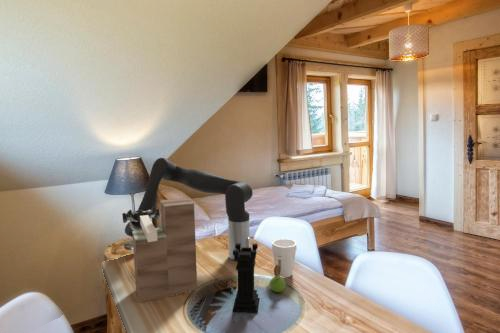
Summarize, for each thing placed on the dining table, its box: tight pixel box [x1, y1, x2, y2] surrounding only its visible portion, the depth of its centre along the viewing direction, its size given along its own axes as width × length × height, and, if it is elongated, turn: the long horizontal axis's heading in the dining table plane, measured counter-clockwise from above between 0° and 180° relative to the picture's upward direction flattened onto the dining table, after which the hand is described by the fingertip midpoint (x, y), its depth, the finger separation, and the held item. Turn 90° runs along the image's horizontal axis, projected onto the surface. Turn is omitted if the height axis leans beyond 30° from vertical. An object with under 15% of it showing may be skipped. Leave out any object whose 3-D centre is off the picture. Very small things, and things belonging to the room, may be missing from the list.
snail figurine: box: [269, 255, 286, 293], centre depth 123 cm, size 5×6×12 cm
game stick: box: [140, 215, 157, 242], centre depth 122 cm, size 22×3×3 cm, turn 23°
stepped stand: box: [132, 197, 198, 304], centre depth 123 cm, size 10×20×32 cm, turn 113°
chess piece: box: [232, 243, 261, 314], centre depth 113 cm, size 8×8×20 cm
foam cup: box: [271, 238, 297, 277], centre depth 136 cm, size 10×9×13 cm
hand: (142, 210), depth 135 cm, fingers open, 8 cm apart
